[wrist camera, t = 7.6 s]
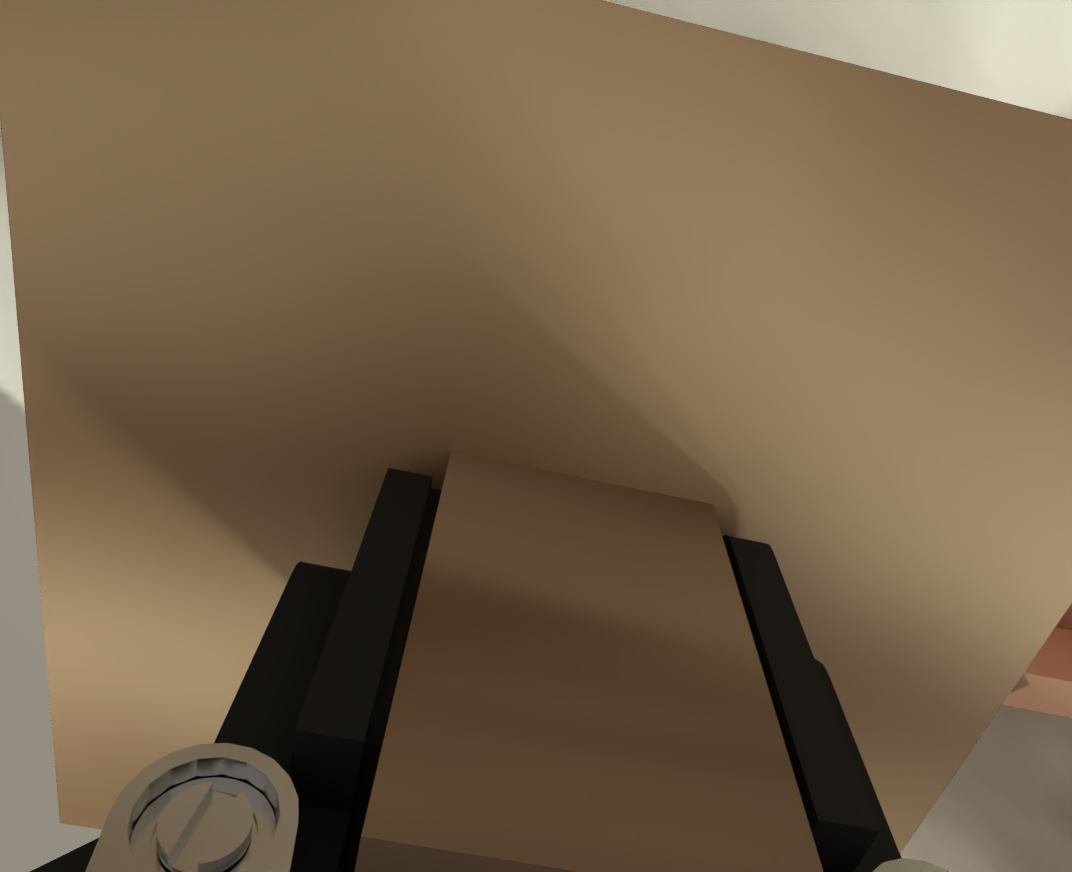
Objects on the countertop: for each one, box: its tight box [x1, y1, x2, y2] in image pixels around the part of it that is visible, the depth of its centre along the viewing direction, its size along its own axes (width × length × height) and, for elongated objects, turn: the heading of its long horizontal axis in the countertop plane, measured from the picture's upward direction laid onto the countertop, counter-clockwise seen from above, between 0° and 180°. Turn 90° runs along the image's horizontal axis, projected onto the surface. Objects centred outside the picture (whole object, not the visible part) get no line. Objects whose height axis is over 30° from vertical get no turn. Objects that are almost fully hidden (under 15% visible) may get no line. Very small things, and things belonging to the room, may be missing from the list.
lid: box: [0, 0, 1072, 872], centre depth 9 cm, size 13×13×6 cm
